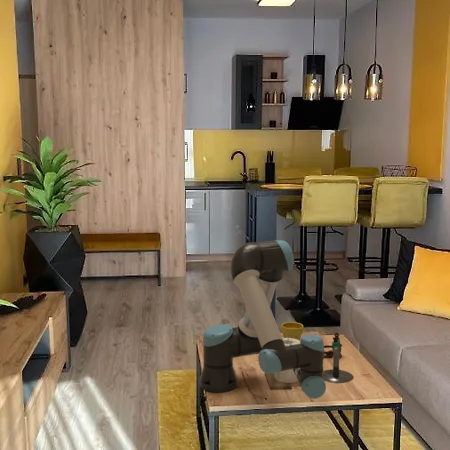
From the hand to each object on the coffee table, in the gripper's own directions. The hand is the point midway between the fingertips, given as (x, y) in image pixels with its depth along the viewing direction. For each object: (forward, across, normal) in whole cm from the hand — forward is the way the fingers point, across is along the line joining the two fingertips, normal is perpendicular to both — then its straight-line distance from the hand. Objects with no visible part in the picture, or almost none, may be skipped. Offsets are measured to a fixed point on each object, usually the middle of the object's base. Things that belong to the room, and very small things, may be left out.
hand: (293, 347), depth 225 cm
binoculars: (+33, +24, -18) cm, 45 cm away
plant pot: (+51, +10, -19) cm, 55 cm away
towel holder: (+10, +20, -18) cm, 28 cm away
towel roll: (+10, 0, -17) cm, 19 cm away
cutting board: (+10, 0, -18) cm, 20 cm away
